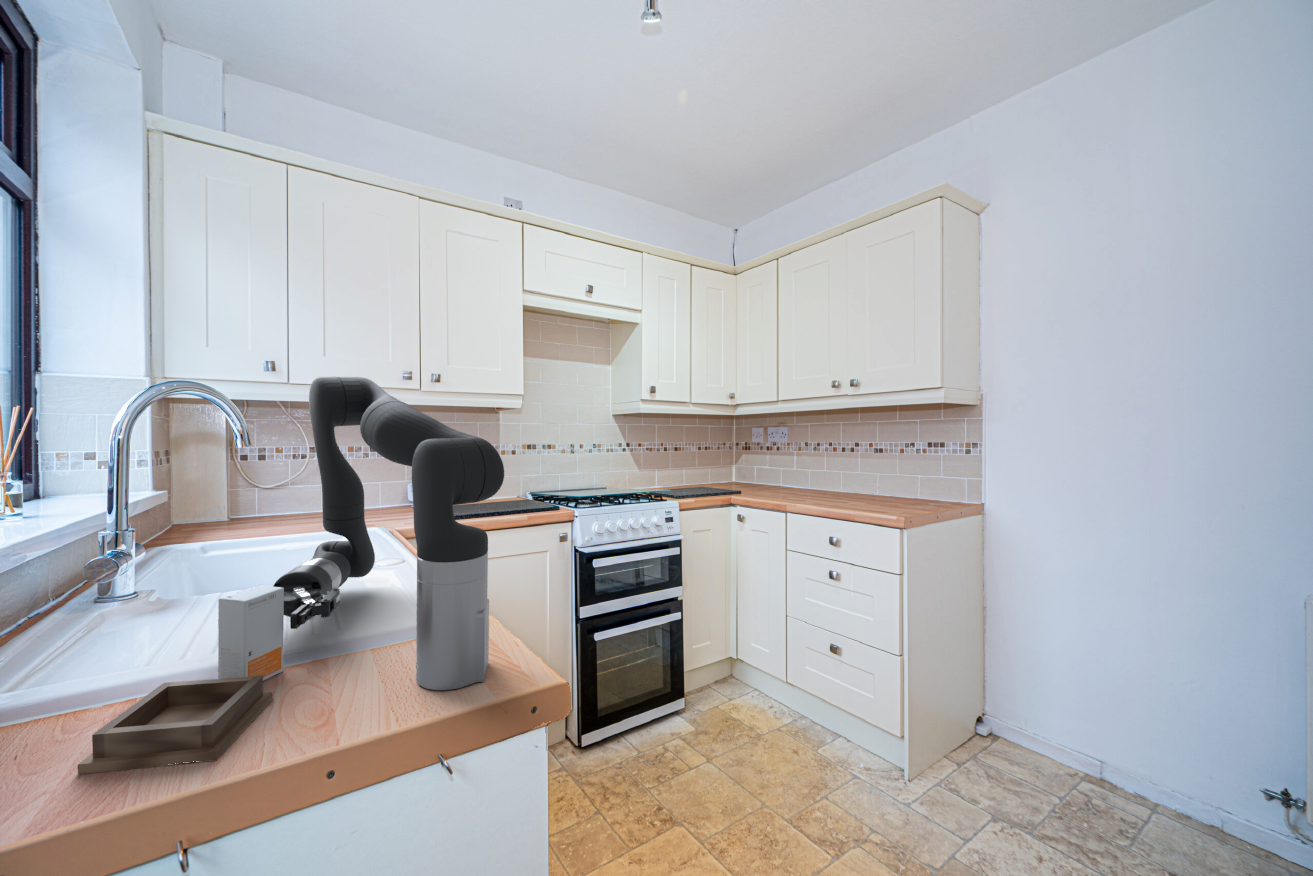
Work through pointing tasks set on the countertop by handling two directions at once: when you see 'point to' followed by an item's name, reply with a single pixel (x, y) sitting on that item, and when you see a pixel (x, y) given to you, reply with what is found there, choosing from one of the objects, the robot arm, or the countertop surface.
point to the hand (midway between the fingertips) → (258, 623)
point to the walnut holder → (178, 724)
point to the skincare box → (251, 633)
